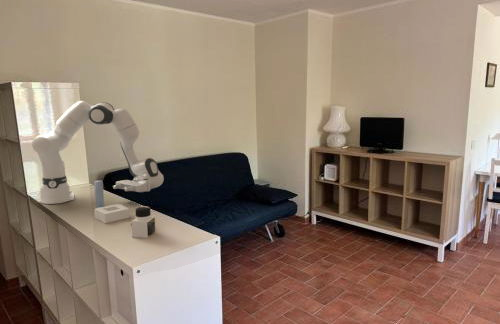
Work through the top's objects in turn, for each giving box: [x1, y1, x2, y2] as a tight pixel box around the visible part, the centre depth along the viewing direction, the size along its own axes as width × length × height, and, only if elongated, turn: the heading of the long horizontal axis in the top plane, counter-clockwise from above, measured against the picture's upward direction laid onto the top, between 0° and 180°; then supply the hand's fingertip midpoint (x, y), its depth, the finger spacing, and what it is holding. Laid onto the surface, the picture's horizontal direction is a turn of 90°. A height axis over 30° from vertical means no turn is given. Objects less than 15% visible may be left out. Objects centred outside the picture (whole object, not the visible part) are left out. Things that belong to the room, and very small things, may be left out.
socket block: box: [93, 203, 130, 224], centre depth 168 cm, size 12×12×4 cm
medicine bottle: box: [131, 205, 156, 239], centre depth 145 cm, size 7×7×12 cm
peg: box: [93, 180, 105, 208], centre depth 177 cm, size 4×4×16 cm
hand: (119, 188), depth 187 cm, fingers open, 8 cm apart
